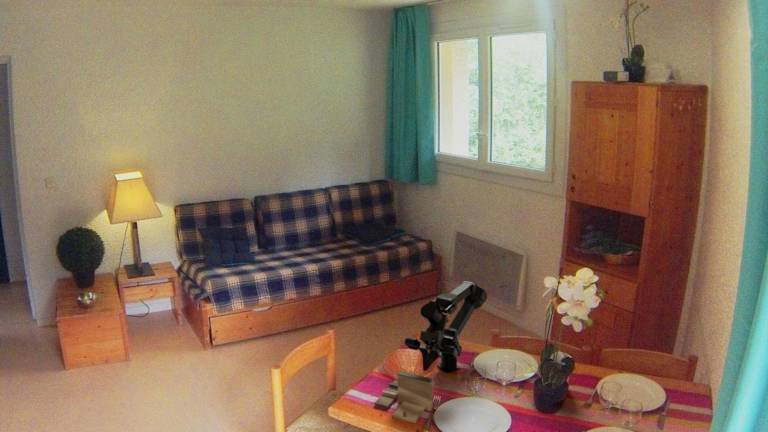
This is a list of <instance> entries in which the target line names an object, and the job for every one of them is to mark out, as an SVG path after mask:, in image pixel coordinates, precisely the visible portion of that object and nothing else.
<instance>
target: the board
mask: <svg viewBox="0 0 768 432" xmlns="http://www.w3.org/2000/svg"><path fill="white" fill-rule="evenodd" d="M397 400H398V380H394V381H392V382H389V384H388V387H387V388H386V389H384V390H382V393H381V395H380V396H379V397H378V399H376V401H375V402H374V407H377V408H382V409H384V410H389V409H390V408H391V407H392V405H393V404H394V403H395V402H396V401H397Z"/></svg>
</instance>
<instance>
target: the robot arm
mask: <svg viewBox="0 0 768 432" xmlns="http://www.w3.org/2000/svg"><path fill="white" fill-rule="evenodd" d="M487 300H488V293H487V292H486V290H485V289H484V288H481V286H478V285H477V283H475V282H472V281H468V280H465V281H464V280H463V281H462V283H461V284H460V285H458V286H457V287H456V288H455V289H453V290H452V291H450V292H448V293H442V294H440V295H438V296H437V297H436V298H435V299H434V300H432V299H431V300H429V302H428V303H425V304H424V305H422V306H421V309H420V315H421V316H422V318H423V319H425V321H426V322H427V323H429V325H428V327H427V328H426V329H425V330H420V336H419V340H420V341H422V342H420V341H419V340H418V339H417V338H416V337H410V336H407V337H406V338H405V339H404V342H403V343H404V345H405V346H406V347H407V348H408V349H409V350H413V351H420V353H421V357H422V371H423V372H427V371H428V369H429V368H430V367H431V366H432V365H433V364H434V363H435V362H436V360H438V359H440V363H438V364H439V365H438V366H437V367H438V368H440V369H441V370H442V371H444V372H445V373H449V372H453V371H455V370H459V369H460V368H461V366H460V365H458V357H460V356H461V354H462V350H463V347H462V345H461V344H460V339H459V336H460V335H461V333H462V332H463V330H464V328H465V326H466V325H467V323H468V321H469V320H470V318H471V317H472V315H473V313H474V311H475V310H477V309H480V308H482V306H483V305H484V304H485V302H486V301H487ZM462 301H463V304H462V305H461V307H460V309H459V310H458V312H457V313H456V315H455V316H454V318H453V320H451V323H450V324H449V326H448V328H446V326H447V323H449V322H450V321H449V320H450V319H449V317H448V315H452V314H453V313H454V312H456V310H457V309H458V304H459V303H461V302H462Z"/></svg>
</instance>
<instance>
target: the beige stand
mask: <svg viewBox="0 0 768 432" xmlns="http://www.w3.org/2000/svg"><path fill="white" fill-rule="evenodd" d="M397 381H398V398H397V403H398V404H400V405H399V407H398V408H396V410H395V411H394V412H393V413H392V418H393V419H397V420H402V421H406V422H409V423H412V424H416V422H417V421H418V419H420V417H421V416H422V414H423V413H424V412H425V410H426V411H428V412H431V411H432V410H433V407H434V405H433V404H434V401H433V400H434V399H433V397H434V394H433V391H434V388H433V385H434V384H433V383H434V378H432V377H429V376H423V375H418V374H415V373H410V372H406V371H401V370H399V372H398V373H397Z"/></svg>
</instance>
